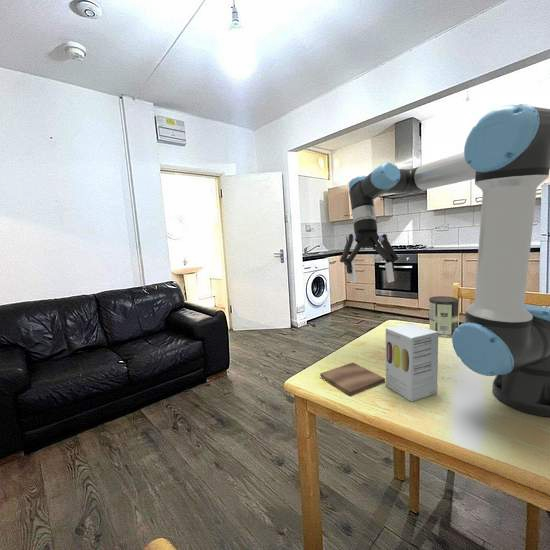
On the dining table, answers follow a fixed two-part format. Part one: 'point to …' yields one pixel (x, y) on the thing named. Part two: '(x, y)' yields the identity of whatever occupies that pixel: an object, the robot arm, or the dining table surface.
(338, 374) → the walnut board
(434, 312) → the coffee can
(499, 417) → the dining table surface
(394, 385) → the supplement box
